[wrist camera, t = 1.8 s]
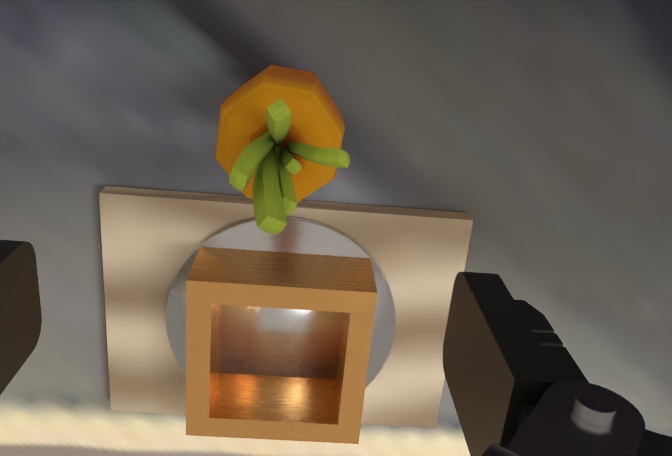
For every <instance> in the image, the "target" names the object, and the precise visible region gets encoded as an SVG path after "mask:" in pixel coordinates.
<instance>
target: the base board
mask: <svg viewBox="0 0 672 456" xmlns="http://www.w3.org/2000/svg"><path fill="white" fill-rule="evenodd" d="M99 202H100V220H101V239H102V257H103V275H104V294H105V312H106V330H107V349H108V367H109V385H110V404H111V411H126V412H145V413H164V414H183V415H186V374H185V373H184V371H183V370H182V369H181V367H180V365H179V364H178V362H177V360H176V358H175V356H174V354H173V351H172V349H171V347H170V343H169V339H168V335H167V329H166V305H167V301H168V296H169V292H170V290H171V287H172V284H173V282H174V279H175V277H176V275H177V273H178V271H179V270H180V268H181V266H182V264H183V263H184V262H185V260H186V259H187V258H188V256H189V255H190V254H191V253H192V252H193V251H194V250H195V249H196V248H197V247H198V246H199V245H200V244H201V243H202V242H203V241H205V240H206V239H207V238H209V237H210V236H212V235H213V234H214V233H216V232H218V231H220V230H222V229H224V228H226V227H227V226H230V225H233V224H235V223H238V222H241V221H244V220H248V219H252V218H255V213H254V206H253V199H252V198H246V197H245V196H237V195H223V194H209V193H196V192H182V191H169V190H155V189H142V188H128V187H114V186H105V187H104V189H103V190H102V191H101V192H100V193H99ZM286 216H295V217H303V218H307V219H311V220H315V221H319V222H322V223H324V224H327V225H329V226H332V227H334V228H336V229H338V230H340V231H341V232H343V233H345V234H347V235H348V236H350V237H351V238H353V239H354V240H355V241H357V242H358V243H359V244H360V245H361V246H362V247H364V248H365V249H366V250H367V251H368V252H369V253H370V254H371V256H372V257H373V258H374V259H375V261H376V262H377V263H378V265H379V266H380V268H381V270H382V271H383V273H384V275H385V277H386V279H387V281H388V284H389V286H390V289H391V293H392V297H393V301H394V306H395V315H396V327H395V336H394V340H393V345H392V348H391V351H390V353H389V356H388V358H387V360H386V362H385V364H384V366H383V367H382V369H381V371H380V372H379V373H378V375H377V376H376V377H375V379H374V380H373V381H372V382H371V383H370V384H369V385H368V386H367V387H366V388H365V395H364V403H363V411H362V418H361V424H371V425H390V426H409V427H428V428H436V423H437V417H438V412H439V406H440V401H441V395H442V390H443V384H444V379H445V374H444V369H443V342H444V336H445V331H446V325H447V319H448V314H449V308H450V302H451V297H452V291H453V286H454V281H455V278H456V275H457V274H458V272H464V269H465V264H466V258H467V253H468V247H469V242H470V236H471V231H472V225H473V219H472V217H471V216H470V214H469V213H467V212H454V211H440V210H427V209H413V208H400V207H386V206H372V205H359V204H345V203H332V202H318V201H305V200H301V201H299V202H298V203H297V206H296V209H295V211H294V212H293V213H291V214H290V215H289V214H286Z"/></svg>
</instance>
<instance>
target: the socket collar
mask: <svg viewBox="0 0 672 456" xmlns="http://www.w3.org/2000/svg"><path fill="white" fill-rule="evenodd" d="M286 220H287V224H286V226H285V228H284V230H283V231H281V232H279V233H277V234H271V233H266V232H264V231H263V230H261V229H259V228H258V227H257V224H256V219H255V218H252V219H248V220H244V221H241V222H238V223H235V224H233V225H230V226H227V227H226V228H224V229H222V230H220V231H218V232H216V233H214V234H213V235H212V236H210V237H209V238H207V239H206V240H205V241H203V242H202V243H201V244H200V245H199V246H198V247H197V248H196V249H195V250H194V251H193V252H192V253H191V254H190V255H189V256H188V258H187V259H186V260H185V262H184V263H183V264H182V266H181V268H180V270H179V271H178V273H177V275H176V277H175V279H174V282H173V284H172V287H171V290H170V292H169V296H168V301H167V305H166V329H167V335H168V339H169V343H170V347H171V349H172V351H173V354H174V356H175V358H176V360H177V362H178V364H179V365H180V367H181V369H182V370H183V371H184V373H185V374H186V435H196V436H215V437H235V438H254V439H274V440H293V441H313V442H333V443H352V444H358V442H359V434H360V426H361V418H362V411H363V403H364V395H365V388H366V387H367V386H368V385H369V384H370V383H371V382H372V381H373V380H374V379H375V377H376V376H377V375H378V373H379V372H380V371H381V369H382V367H383V366H384V364H385V362H386V360H387V358H388V356H389V353H390V351H391V348H392V345H393V340H394V336H395V327H396V315H395V306H394V301H393V297H392V293H391V289H390V286H389V284H388V281H387V279H386V277H385V275H384V273H383V271H382V270H381V268H380V266H379V265H378V263H377V262H376V261H375V259H374V258H373V257H372V256H371V254H370V253H369V252H368V251H367V250H366V249H365V248H364V247H362V246H361V245H360V244H359V243H358V242H357V241H355V240H354V239H353V238H351V237H350V236H348V235H347V234H345V233H343V232H341V231H340V230H338V229H336V228H334V227H332V226H329V225H327V224H324V223H322V222H319V221H315V220H311V219H307V218H303V217H295V216H286Z"/></svg>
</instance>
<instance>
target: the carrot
mask: <svg viewBox="0 0 672 456" xmlns="http://www.w3.org/2000/svg"><path fill="white" fill-rule="evenodd" d="M344 130H345V125H344V122H343V118H342V116H341V113H340V111H339V109H338V107H337V106H336V104H335V103H334V101H333V100H332V98H331V97H330V96H329V94H328V93H327V91H326V90H325V88H324V87H323V85H322V84H321V82H320V81H319V80H318V78H317V77H316V75H315V74H314V72H308V71H303V70H297V69H292V68H287V67H281V66H276V65H270V66H269V67H267V68H266V69H264V70H263V71H262V72H260V73H259V74H258V75H256V76H255V77H253V78H252V79H251V80H249V81H248V82H246V83H245V84H244V85H242V86H241V87H240V88H238V89H237V90H236V91H234V92H233V93H232V94H231V95H230V96H229V97H228V98H227V99H226V100H225V101H224V102H223V103H222V105H221V110H220V118H219V127H218V135H217V143H216V151H215V158H216V160H217V161H218V162H219V164H220V165H221V166H222V167H223V169H224V170H225V171H226V172H227V174H228V175H229V183H230V184H231V185H232V186H233V187H234V188H235V189H237V190H240V191H241V192H242V193H243V194H244V195H245V197H246V198H252V199H253V206H254V213H255V219H256V224H257V227H258V228H259V229H261V230H263V231H264V232H266V233H271V234H277V233H279V232H281V231H283V230H284V228H285V226H286V224H287V220H286V214H289V215H290V214H291V213H293V212H294V211H295V209H296V206H297V203H298V202H299V201H301V200H302V199H304V198H305V197H307V196H308V195H310V194H311V193H313V192H314V191H316V190H317V189H319V188H321V187H322V186H324V185H325V184H327V183H328V182H330V181H331V180H333V179H334V178H335V176H336V171H337V168H348V166H349V163H350V155H349V154H348V153H347V152H345V151H343V150H341V145H342V140H343V135H344Z"/></svg>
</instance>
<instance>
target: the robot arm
mask: <svg viewBox="0 0 672 456" xmlns="http://www.w3.org/2000/svg"><path fill="white" fill-rule="evenodd" d="M41 319H42V318H41V306H40V296H39V286H38V276H37V266H36V256H35V251H34V248H33V246H32V244H31V243H29V242H25V241H10V240H0V395H1V393H2V392H3V391H4V389H5V388H6V387H7V385H8V384H9V383H10V381H11V380H12V378H13V377H14V376H15V374H16V373H17V372H18V370H19V369H20V368H21V366H22V365H23V364H24V362H25V361H26V360H27V358H28V357H29V356H30V354H31V353H32V352H33V350H34V348H35V347H36V345H37V342H38V339H39V335H40V331H41ZM443 369H444V374H445V377H446V380H447V384H448V387H449V390H450V393H451V396H452V399H453V402H454V405H455V408H456V412H457V415H458V418H459V421H460V424H461V427H462V430H463V433H464V437H465V440H466V443H467V446H468V449H469V452H470V455H471V456H672V437H670V436H666V435H662V434H658V433H655V432H652V431H649V430H646V429H645V421H644V419H643V416H642V415H641V413H640V412H639V410H638V409H637V408H636V407H635V406H634V405H633V404H631V403H630V402H629V401H628V400H626V399H625V398H624V397H622V396H620V395H619V394H617V393H615V392H613V391H611V390H609V389H607V388H604V387H601V386H598V385H595V384H591V383H589V382H588V381H587V379H586V378H585V376H584V375H583V373H582V372H581V370H580V369H579V367H578V366H577V364H576V363H575V361H574V360H573V358H572V357H571V355H570V354H569V352H568V351H567V349H566V348H565V347H563V343H562V342H561V340H560V339H559V337H558V336H557V334H554V330H553V328H552V327H551V325H550V324H549V322H548V320H547V319H546V317H545V316H544V315H543V314H542V313H541V312H539V311H538V310H536V309H535V308H534V307H532V306H531V305H530V304H528V303H527V302H526V301H524V300H514V299H513V298H512V296H511V294H510V293H509V291H508V289H507V288H506V286H505V284H504V283H503V281H502V279H501V278H500V276H499V275H498V274H489V273H474V272H458V274H457V275H456V278H455V281H454V286H453V291H452V297H451V302H450V308H449V314H448V319H447V325H446V331H445V336H444V342H443Z"/></svg>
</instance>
